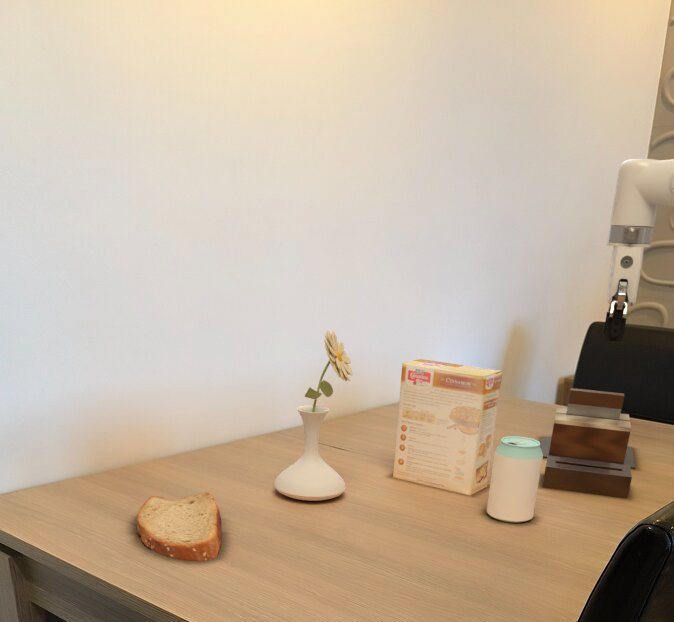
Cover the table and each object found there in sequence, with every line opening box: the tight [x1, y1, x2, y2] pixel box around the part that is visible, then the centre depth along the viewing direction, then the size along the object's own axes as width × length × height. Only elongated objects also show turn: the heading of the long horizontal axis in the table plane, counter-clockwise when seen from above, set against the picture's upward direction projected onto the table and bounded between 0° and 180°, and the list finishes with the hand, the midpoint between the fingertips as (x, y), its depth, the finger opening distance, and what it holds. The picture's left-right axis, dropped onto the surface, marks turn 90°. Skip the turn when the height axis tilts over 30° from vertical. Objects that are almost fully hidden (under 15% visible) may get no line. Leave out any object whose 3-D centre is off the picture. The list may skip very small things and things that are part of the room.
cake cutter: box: [566, 387, 625, 420], centre depth 161 cm, size 10×2×12 cm, turn 74°
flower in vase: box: [273, 330, 353, 502], centre depth 127 cm, size 13×11×25 cm
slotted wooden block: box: [541, 455, 633, 500], centre depth 142 cm, size 14×7×4 cm, turn 74°
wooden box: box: [540, 406, 636, 470], centre depth 162 cm, size 18×16×7 cm
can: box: [486, 435, 544, 524], centre depth 124 cm, size 7×7×12 cm
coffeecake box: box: [392, 358, 503, 496], centre depth 137 cm, size 15×7×20 cm, turn 57°
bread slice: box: [136, 491, 222, 563], centre depth 114 cm, size 18×18×4 cm
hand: (612, 337), depth 154 cm, fingers open, 9 cm apart
